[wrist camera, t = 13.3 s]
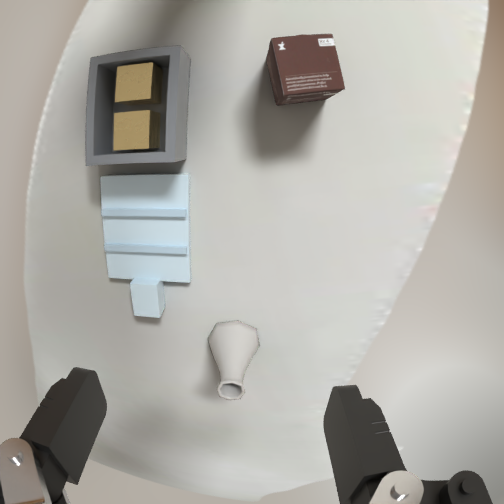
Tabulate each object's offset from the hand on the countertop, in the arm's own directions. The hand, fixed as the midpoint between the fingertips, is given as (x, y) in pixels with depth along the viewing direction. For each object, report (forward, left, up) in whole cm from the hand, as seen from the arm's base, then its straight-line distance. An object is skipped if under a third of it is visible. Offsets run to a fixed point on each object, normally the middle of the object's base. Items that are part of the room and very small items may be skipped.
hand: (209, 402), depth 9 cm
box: (-16, +6, -28) cm, 33 cm away
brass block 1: (-15, -11, -28) cm, 33 cm away
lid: (+4, -11, -28) cm, 31 cm away
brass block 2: (-9, -11, -28) cm, 31 cm away
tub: (-12, -11, -28) cm, 32 cm away
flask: (+18, 0, -28) cm, 34 cm away
